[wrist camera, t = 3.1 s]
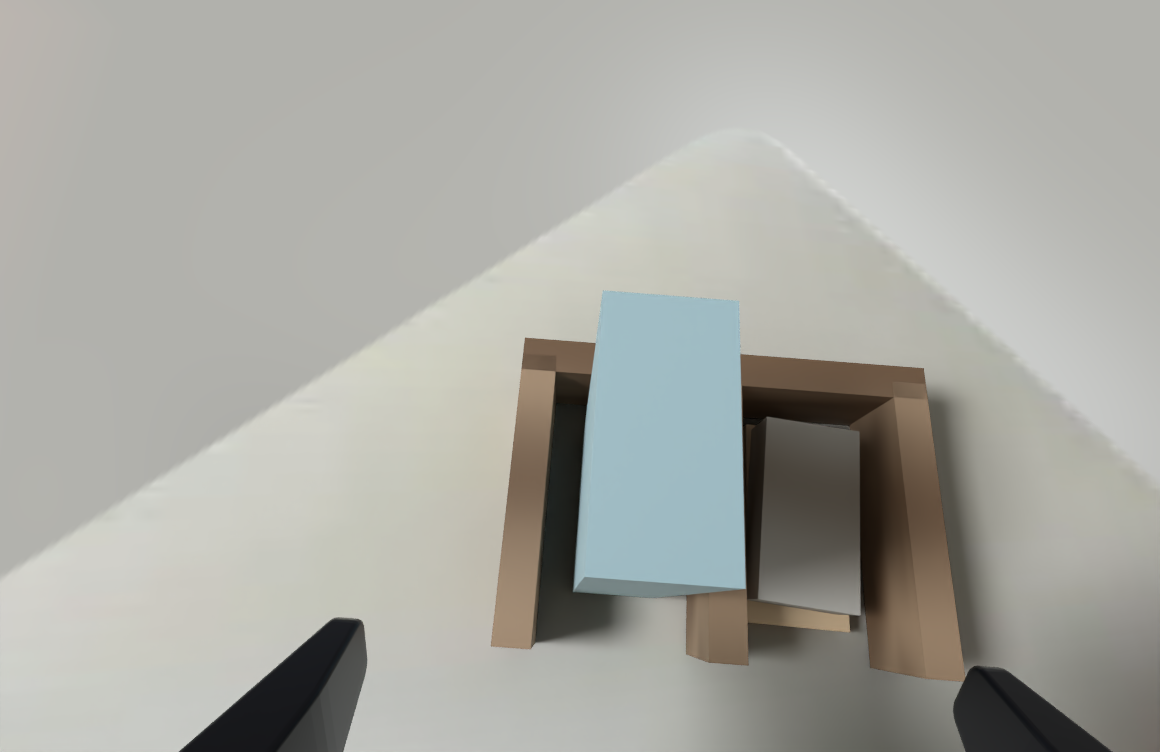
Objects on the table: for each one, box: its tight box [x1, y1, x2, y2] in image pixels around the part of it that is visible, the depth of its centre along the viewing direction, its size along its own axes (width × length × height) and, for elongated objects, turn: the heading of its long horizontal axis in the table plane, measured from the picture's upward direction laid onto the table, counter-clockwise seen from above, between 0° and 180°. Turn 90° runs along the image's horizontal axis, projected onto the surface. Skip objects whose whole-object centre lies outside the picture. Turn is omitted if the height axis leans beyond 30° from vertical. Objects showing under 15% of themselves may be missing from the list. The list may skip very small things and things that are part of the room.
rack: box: [491, 338, 965, 682], centre depth 18 cm, size 8×12×3 cm
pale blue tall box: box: [572, 291, 746, 598], centre depth 15 cm, size 5×2×10 cm, turn 176°
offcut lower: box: [743, 424, 850, 632], centre depth 20 cm, size 6×3×2 cm, turn 175°
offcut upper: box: [745, 417, 861, 616], centre depth 18 cm, size 5×3×2 cm, turn 171°
